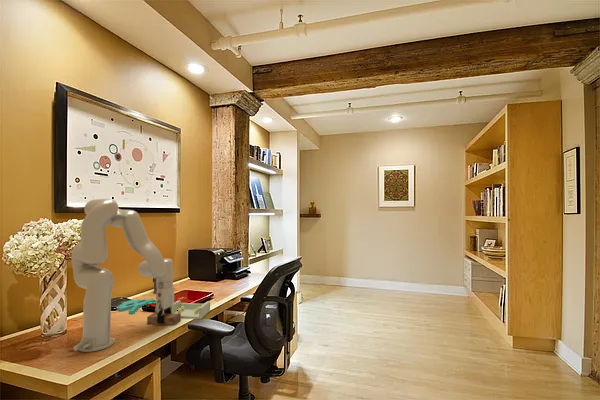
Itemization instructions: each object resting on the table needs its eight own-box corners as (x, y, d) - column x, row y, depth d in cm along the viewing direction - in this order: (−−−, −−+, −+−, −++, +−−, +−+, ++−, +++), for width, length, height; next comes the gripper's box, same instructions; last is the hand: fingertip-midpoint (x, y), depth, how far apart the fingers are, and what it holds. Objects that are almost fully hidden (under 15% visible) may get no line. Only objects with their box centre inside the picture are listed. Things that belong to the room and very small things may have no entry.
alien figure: (164, 305, 181) (144, 300, 192) (164, 301, 182) (144, 296, 192) (131, 315, 164) (110, 309, 175) (131, 311, 164) (110, 305, 175)
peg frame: (201, 318, 158) (201, 308, 158) (167, 317, 160) (167, 306, 160) (209, 311, 170) (210, 301, 170) (178, 310, 172) (178, 300, 172)
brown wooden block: (180, 321, 155) (180, 313, 155) (174, 325, 149) (174, 318, 149) (154, 319, 157) (154, 312, 157) (147, 324, 151) (147, 316, 151)
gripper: (162, 288, 145) (162, 327, 144) (180, 280, 162) (180, 315, 161) (147, 288, 145) (147, 327, 145) (166, 279, 162) (166, 314, 162)
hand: (164, 320), depth 153 cm, fingers closed on brown wooden block, 6 cm apart
